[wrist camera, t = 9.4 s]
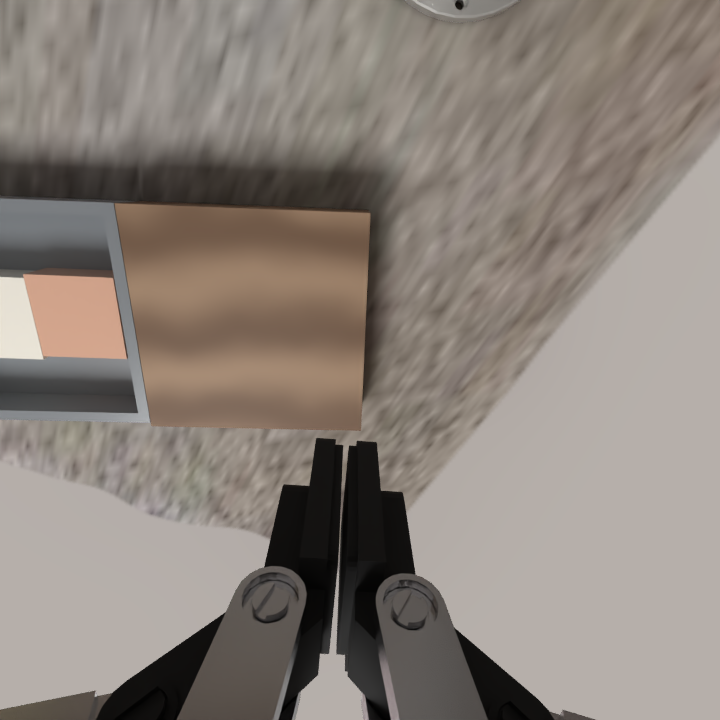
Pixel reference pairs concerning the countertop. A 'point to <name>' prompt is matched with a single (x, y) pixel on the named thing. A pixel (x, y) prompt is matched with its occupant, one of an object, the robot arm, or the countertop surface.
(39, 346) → the cream tile
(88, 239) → the tray
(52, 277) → the terracotta tile
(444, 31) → the countertop surface
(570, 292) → the countertop surface
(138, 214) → the walnut board
